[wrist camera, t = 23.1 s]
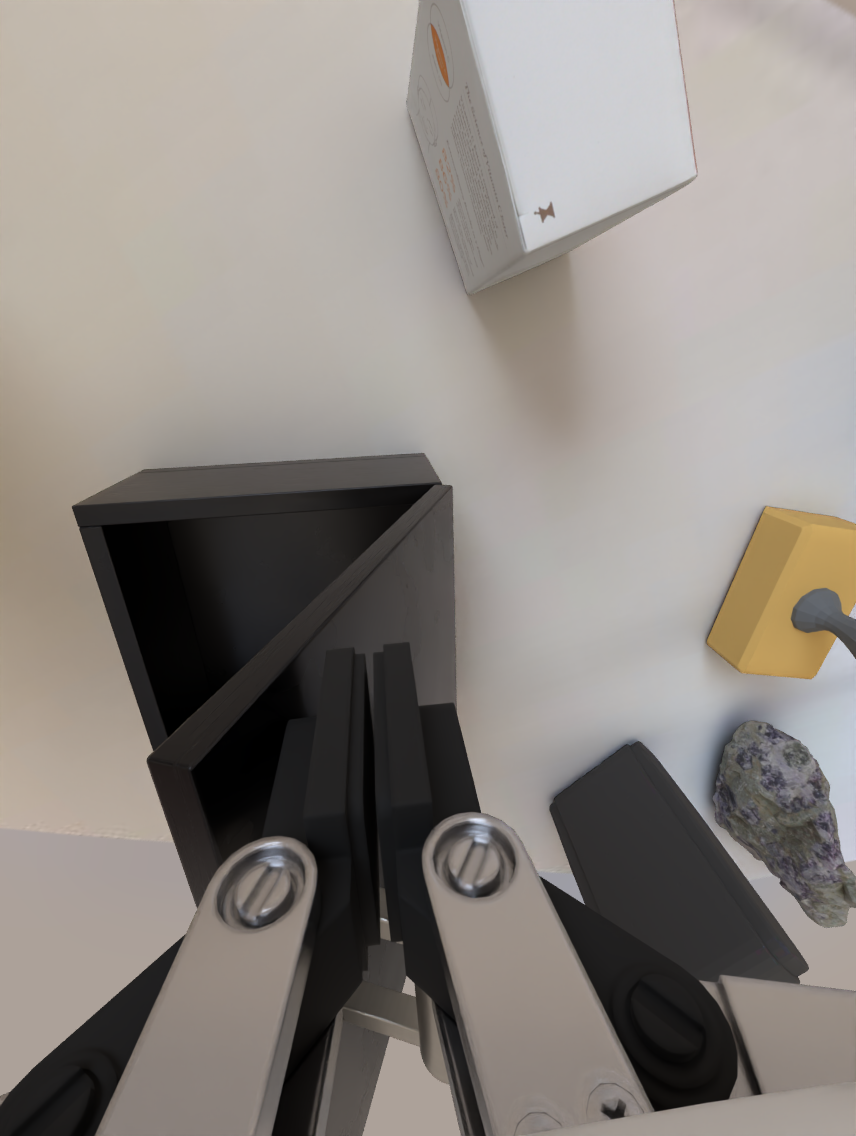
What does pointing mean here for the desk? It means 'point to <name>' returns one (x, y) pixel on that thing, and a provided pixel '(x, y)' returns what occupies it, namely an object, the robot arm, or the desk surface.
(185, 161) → the desk surface
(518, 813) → the desk surface
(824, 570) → the rubber stamp
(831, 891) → the mineral rock
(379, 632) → the black box lid
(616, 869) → the card reader
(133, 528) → the black open box
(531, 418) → the desk surface
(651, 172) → the small box
